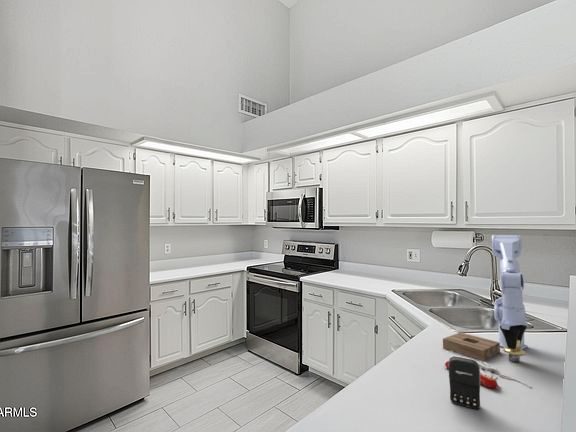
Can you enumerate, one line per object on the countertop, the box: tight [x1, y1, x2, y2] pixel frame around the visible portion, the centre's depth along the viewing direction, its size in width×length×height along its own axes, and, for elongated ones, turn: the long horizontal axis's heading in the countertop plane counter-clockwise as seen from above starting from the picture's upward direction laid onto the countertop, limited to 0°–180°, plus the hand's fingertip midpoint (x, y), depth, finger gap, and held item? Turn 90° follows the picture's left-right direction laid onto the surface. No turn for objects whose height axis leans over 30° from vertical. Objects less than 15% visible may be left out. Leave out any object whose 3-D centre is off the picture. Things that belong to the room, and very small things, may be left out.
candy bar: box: [444, 360, 499, 389], centre depth 91 cm, size 16×4×3 cm, turn 24°
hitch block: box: [442, 331, 501, 362], centre depth 113 cm, size 14×14×4 cm
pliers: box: [477, 361, 532, 389], centre depth 92 cm, size 10×2×15 cm
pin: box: [502, 339, 526, 364], centre depth 103 cm, size 6×6×7 cm
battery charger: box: [448, 355, 481, 410], centre depth 76 cm, size 7×4×11 cm, turn 58°
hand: (513, 347), depth 103 cm, fingers closed on pin, 4 cm apart
